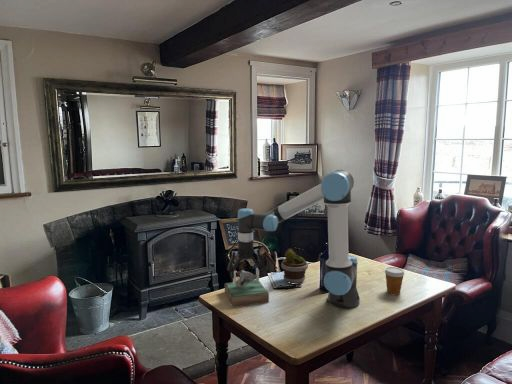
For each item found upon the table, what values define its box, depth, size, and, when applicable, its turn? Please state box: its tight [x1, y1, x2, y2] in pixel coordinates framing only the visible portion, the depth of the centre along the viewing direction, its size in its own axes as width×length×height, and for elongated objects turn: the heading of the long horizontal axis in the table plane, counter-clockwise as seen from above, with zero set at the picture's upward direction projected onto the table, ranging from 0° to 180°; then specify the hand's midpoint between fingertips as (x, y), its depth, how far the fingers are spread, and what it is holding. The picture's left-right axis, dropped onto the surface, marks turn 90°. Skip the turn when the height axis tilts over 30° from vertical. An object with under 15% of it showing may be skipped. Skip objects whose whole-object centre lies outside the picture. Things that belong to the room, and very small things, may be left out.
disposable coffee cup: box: [384, 266, 405, 296], centre depth 194 cm, size 10×10×12 cm
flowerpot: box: [280, 248, 309, 285], centre depth 208 cm, size 14×15×20 cm
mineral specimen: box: [236, 269, 257, 287], centre depth 187 cm, size 10×8×10 cm
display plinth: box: [224, 279, 270, 308], centre depth 189 cm, size 18×18×5 cm
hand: (246, 282), depth 189 cm, fingers closed on mineral specimen, 11 cm apart
